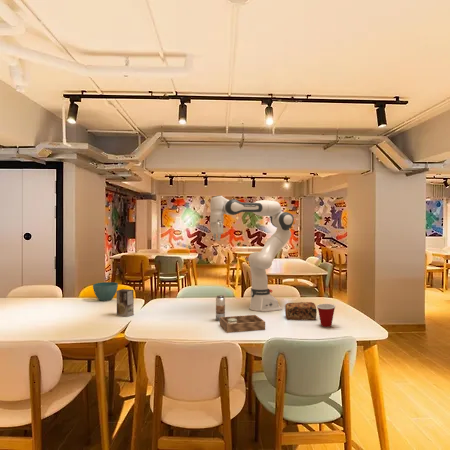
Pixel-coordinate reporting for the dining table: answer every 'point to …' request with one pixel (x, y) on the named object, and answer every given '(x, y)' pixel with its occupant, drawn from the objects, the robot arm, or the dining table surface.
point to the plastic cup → (326, 314)
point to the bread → (300, 311)
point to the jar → (232, 320)
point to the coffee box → (125, 302)
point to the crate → (242, 323)
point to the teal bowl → (105, 290)
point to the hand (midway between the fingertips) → (216, 240)
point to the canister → (220, 307)
